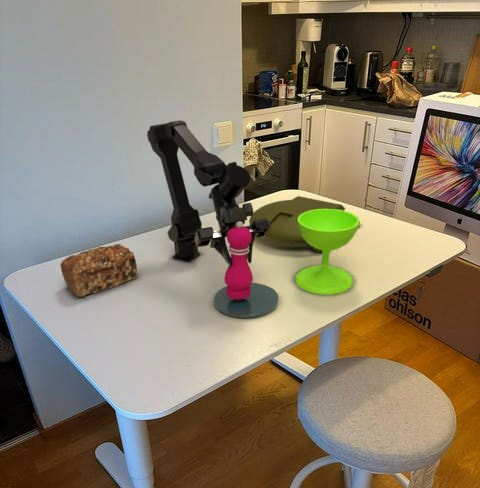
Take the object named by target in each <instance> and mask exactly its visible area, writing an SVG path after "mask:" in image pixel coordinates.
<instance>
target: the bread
mask: <svg viewBox="0 0 480 488" xmlns="http://www.w3.org/2000/svg"><path fill="white" fill-rule="evenodd" d="M59 266H60V271H61V274H62V278H63V280H64V283H65V286H66V287H67V288H68V289H69V290H70V292H72V293H73V295H75V296H76V297H77V298H80V297H82V298H83V297H85V296H86V295H89V294H91V295H92V294H95V293H98V292H102V291H105V290H108V289H112V288H114V287H118V286H120V285H121V284H124V283H127V282H129V281H131V280H135V279H136V278H137V277H138V266H137V260H136V257H135V255H134V252H133V251H131V250H130V248H128V247H125V246H123V245H122V244H120V243H117V244H112V245H107V246H98V247H95V248H91V249H87V250H85V251H82V252H80V253H77V254H72V255H69V256H68V257H66V258H64V259H63V260H62V261H61V263H60V265H59Z"/></svg>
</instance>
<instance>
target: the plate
mask: <svg viewBox="0 0 480 488" xmlns="http://www.w3.org/2000/svg"><path fill="white" fill-rule="evenodd" d="M226 287H227V285H226V286H224V287H222V288H220V289H219V290H218V291H217V292H216V293H215V294H214V297H213V304H214V306H215V308H216V309H217V311H219V312H220V313H222V314H224V315H226V316H229V317H235V318H241V319H245V318H246V319H249V318H258V317H261V316H264V315H267V314H269V313H271V312H272V311H273V310H275V309H276V307H278V305H279V302H280V301H279V300H280V299H279V294H278V293H277V291H276V290H275V289H273V288H272V287H270V286H268V285H266V284H263V283H259V282H252V284H251V285H250V288H251V291H250V296H249V297H247V298H245V299H232V298H230V297H228V296H227V293H226Z"/></svg>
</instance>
